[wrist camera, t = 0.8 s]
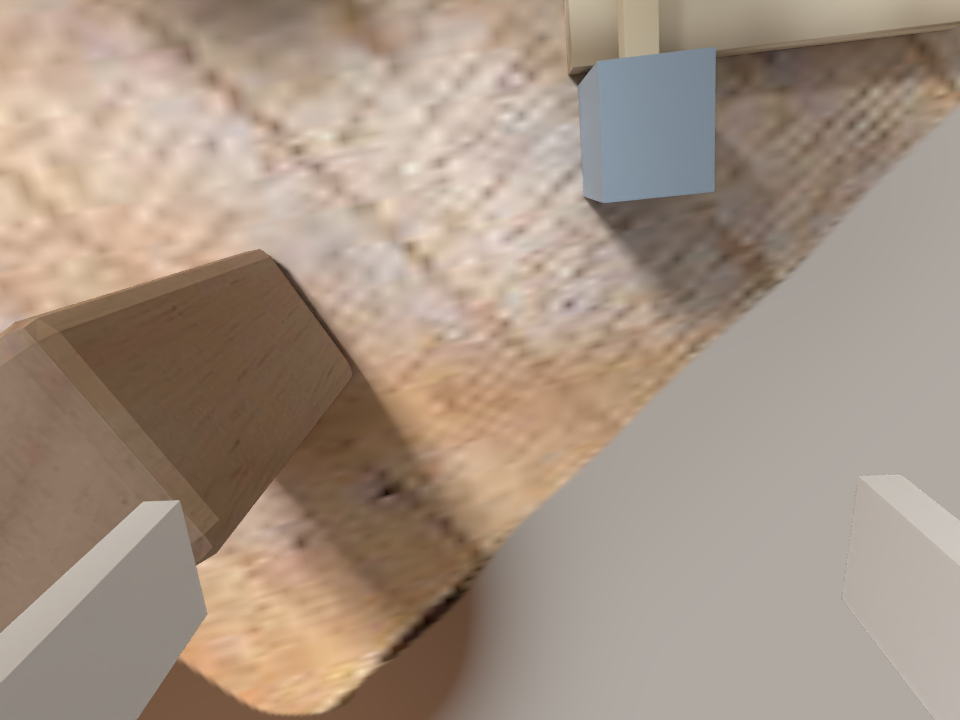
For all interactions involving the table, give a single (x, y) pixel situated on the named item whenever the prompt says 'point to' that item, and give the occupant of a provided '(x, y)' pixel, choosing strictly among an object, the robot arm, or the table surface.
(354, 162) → the table surface
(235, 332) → the block
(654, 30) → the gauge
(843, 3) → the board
